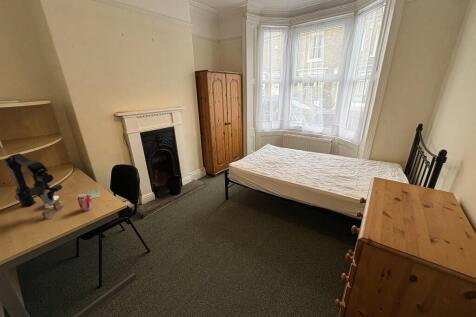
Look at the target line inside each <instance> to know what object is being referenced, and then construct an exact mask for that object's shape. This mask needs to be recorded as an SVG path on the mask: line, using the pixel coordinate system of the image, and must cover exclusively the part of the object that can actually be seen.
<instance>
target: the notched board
mask: <svg viewBox="0 0 476 317" xmlns="http://www.w3.org/2000/svg"><path fill="white" fill-rule="evenodd" d="M60 202H61V201H60V199H57V200H56V201H55V202H54V203H53V208H52V209H51V208H45V210H43V211H42V212H41V215H42V218H41V219H40V221H47V220H52V219H53V218H54V217H55V216H56V215H57V214H59V212H60V211H61V210H62V209H63V208H64V207H66V205H65V204H64V205H63V204H62V203H60Z"/></svg>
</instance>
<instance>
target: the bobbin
mask: <svg viewBox="0 0 476 317" xmlns="http://www.w3.org/2000/svg"><path fill="white" fill-rule="evenodd" d="M59 197H60V196H59V195H54V196H53V198H54V201H53V202H51V203H49V204H44V208H45V209H51V208H52V209H53V208H54V207H53V203H54V202H55V201H57V200H59ZM60 204H62V202H61V201H60Z"/></svg>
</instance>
